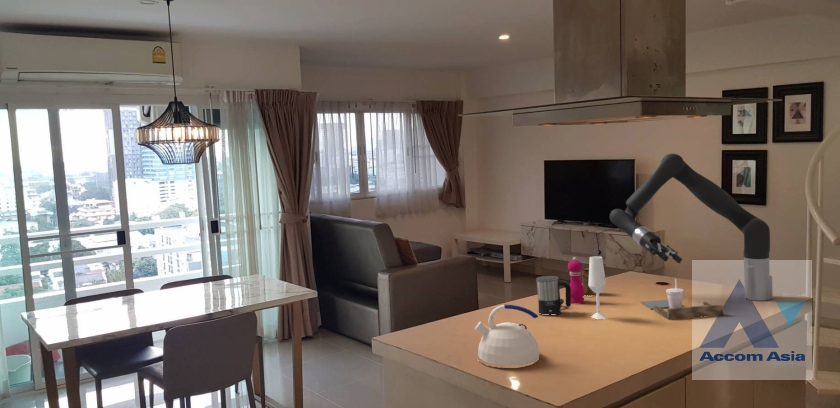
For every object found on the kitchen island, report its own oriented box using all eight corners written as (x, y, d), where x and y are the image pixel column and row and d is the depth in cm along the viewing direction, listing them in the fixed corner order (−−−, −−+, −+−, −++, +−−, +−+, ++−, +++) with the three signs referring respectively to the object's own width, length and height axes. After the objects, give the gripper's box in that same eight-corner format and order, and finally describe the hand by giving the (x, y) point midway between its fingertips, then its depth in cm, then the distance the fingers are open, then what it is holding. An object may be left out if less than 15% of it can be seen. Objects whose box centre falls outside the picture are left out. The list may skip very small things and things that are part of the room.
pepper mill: (587, 300, 262) (585, 255, 261) (582, 304, 256) (580, 258, 255) (571, 299, 266) (569, 255, 265) (566, 303, 260) (563, 258, 259)
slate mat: (666, 301, 253) (666, 299, 253) (678, 307, 242) (678, 306, 242) (640, 303, 252) (640, 301, 252) (651, 309, 242) (651, 308, 241)
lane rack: (705, 307, 240) (705, 297, 239) (723, 315, 227) (722, 305, 226) (654, 311, 239) (653, 301, 239) (668, 319, 226) (668, 309, 226)
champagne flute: (597, 320, 231) (594, 259, 229) (586, 316, 237) (583, 257, 235) (611, 317, 234) (608, 257, 232) (599, 314, 240) (597, 255, 238)
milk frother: (543, 317, 241) (541, 281, 240) (528, 308, 256) (526, 274, 255) (575, 313, 244) (573, 277, 243) (559, 304, 259) (557, 271, 258)
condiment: (600, 293, 274) (599, 267, 273) (590, 297, 268) (589, 271, 267) (586, 291, 279) (584, 266, 278) (576, 295, 273) (575, 269, 272)
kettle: (477, 349, 206) (473, 298, 205) (537, 347, 204) (534, 295, 203) (476, 370, 186) (473, 314, 185) (543, 368, 184) (540, 311, 183)
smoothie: (687, 316, 229) (686, 280, 228) (670, 317, 229) (669, 281, 228) (680, 311, 235) (679, 276, 234) (664, 312, 235) (662, 277, 234)
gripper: (639, 229, 246) (667, 250, 233) (661, 232, 253) (689, 254, 241) (630, 244, 249) (657, 266, 236) (652, 247, 256) (680, 269, 243)
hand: (674, 260), depth 238 cm, fingers open, 8 cm apart
